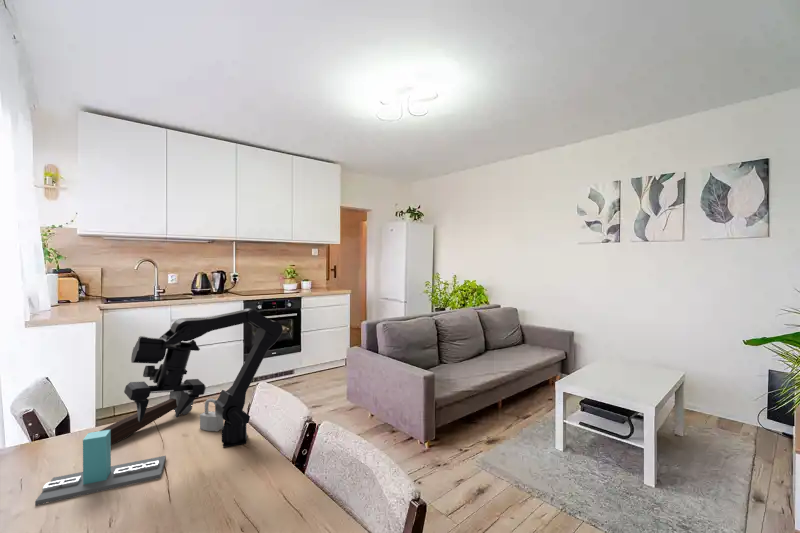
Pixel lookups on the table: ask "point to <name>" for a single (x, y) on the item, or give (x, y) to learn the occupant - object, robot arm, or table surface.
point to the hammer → (145, 417)
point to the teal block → (96, 456)
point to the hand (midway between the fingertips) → (158, 419)
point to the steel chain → (117, 473)
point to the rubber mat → (102, 485)
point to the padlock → (210, 419)
